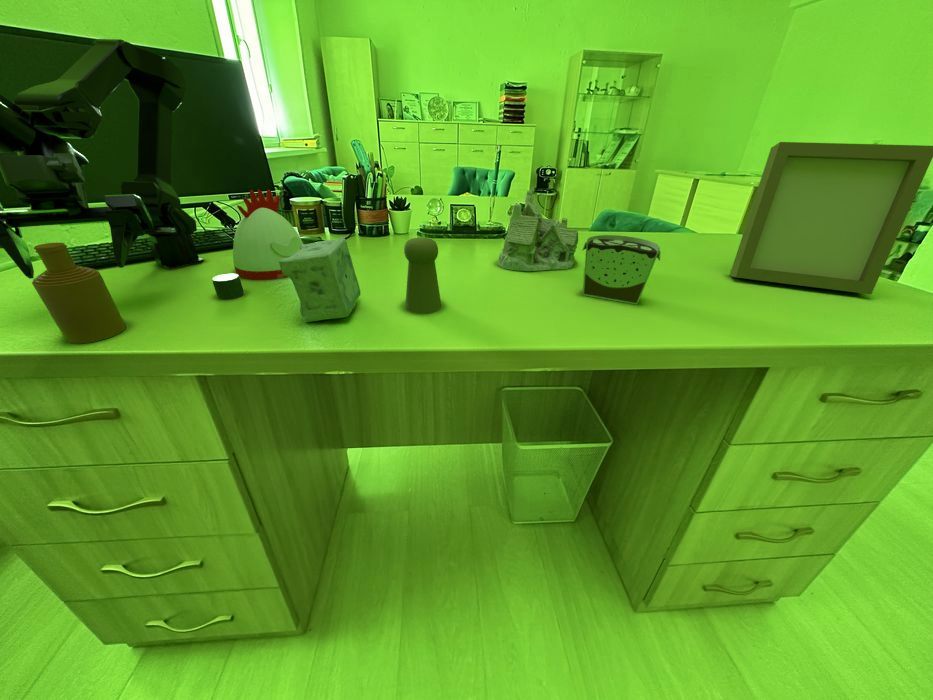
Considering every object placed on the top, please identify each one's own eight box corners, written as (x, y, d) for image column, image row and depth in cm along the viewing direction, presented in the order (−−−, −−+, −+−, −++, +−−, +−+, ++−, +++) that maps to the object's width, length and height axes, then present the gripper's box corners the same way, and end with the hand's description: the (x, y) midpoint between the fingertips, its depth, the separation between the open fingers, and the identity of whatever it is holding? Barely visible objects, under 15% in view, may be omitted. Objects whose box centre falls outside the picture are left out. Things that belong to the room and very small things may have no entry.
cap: (237, 289, 66) (231, 271, 64) (248, 294, 64) (243, 276, 62) (213, 295, 63) (207, 277, 61) (224, 301, 61) (218, 282, 59)
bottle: (115, 319, 54) (73, 236, 48) (134, 330, 52) (92, 243, 45) (58, 335, 50) (4, 246, 44) (76, 348, 47) (21, 255, 41)
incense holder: (313, 299, 63) (300, 237, 57) (362, 299, 63) (354, 237, 58) (292, 324, 54) (275, 254, 49) (349, 324, 54) (338, 254, 49)
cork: (447, 302, 63) (446, 236, 57) (432, 316, 58) (430, 245, 52) (415, 297, 64) (411, 232, 59) (398, 310, 59) (393, 241, 54)
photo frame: (868, 299, 68) (962, 146, 56) (733, 281, 75) (790, 141, 63) (833, 275, 80) (905, 145, 68) (720, 262, 87) (766, 141, 75)
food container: (647, 294, 68) (663, 239, 63) (646, 306, 63) (663, 247, 58) (580, 283, 72) (589, 231, 67) (574, 293, 67) (584, 238, 62)
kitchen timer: (324, 266, 78) (311, 189, 70) (263, 284, 68) (239, 197, 60) (284, 255, 84) (267, 183, 77) (222, 270, 74) (196, 190, 67)
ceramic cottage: (487, 263, 81) (497, 190, 74) (521, 251, 93) (532, 187, 86) (552, 283, 74) (570, 204, 67) (580, 266, 86) (598, 199, 79)
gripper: (-105, 125, 41) (-82, 248, 39) (113, 130, 50) (142, 229, 48) (-29, 192, 50) (-7, 294, 48) (142, 186, 60) (167, 271, 57)
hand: (76, 271), depth 50 cm, fingers open, 9 cm apart
